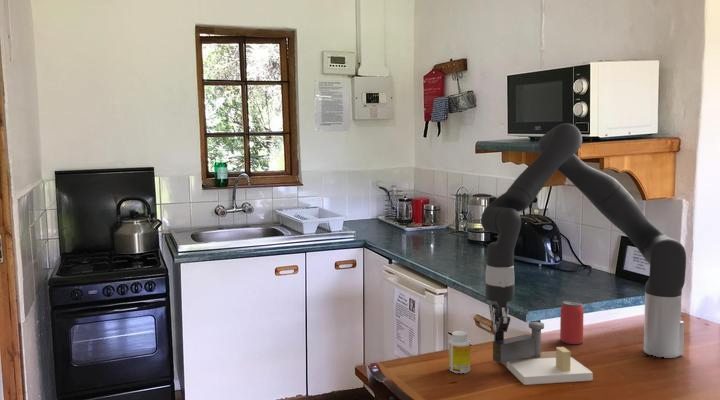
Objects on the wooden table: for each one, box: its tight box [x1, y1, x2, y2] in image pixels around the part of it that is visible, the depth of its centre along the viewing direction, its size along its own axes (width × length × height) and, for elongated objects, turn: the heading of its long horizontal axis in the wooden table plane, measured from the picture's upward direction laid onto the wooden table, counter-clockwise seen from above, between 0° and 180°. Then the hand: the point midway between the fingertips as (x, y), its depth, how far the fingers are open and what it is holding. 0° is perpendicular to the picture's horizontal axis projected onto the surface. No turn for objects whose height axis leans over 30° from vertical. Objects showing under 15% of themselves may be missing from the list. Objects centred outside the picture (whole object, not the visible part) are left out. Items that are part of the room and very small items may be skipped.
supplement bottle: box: [448, 330, 471, 375], centre depth 162 cm, size 6×6×10 cm
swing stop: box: [492, 334, 535, 364], centre depth 163 cm, size 12×3×5 cm, turn 119°
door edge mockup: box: [502, 321, 594, 386], centre depth 162 cm, size 18×17×11 cm
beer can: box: [559, 299, 585, 345], centre depth 185 cm, size 7×7×12 cm
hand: (498, 344), depth 165 cm, fingers closed
